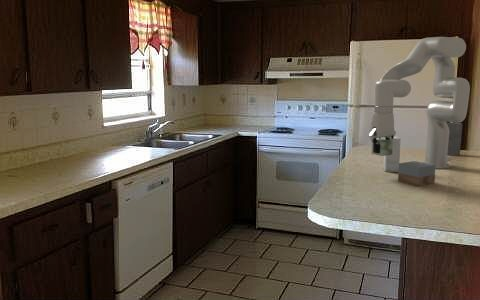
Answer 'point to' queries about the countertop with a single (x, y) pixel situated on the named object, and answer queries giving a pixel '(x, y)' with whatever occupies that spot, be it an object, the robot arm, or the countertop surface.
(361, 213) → the countertop surface
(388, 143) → the sage block
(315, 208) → the countertop surface
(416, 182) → the slab bottom
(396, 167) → the skincare box
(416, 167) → the slab top
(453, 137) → the dark grey upright block
